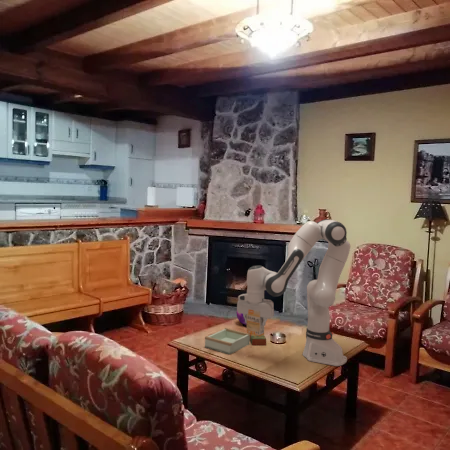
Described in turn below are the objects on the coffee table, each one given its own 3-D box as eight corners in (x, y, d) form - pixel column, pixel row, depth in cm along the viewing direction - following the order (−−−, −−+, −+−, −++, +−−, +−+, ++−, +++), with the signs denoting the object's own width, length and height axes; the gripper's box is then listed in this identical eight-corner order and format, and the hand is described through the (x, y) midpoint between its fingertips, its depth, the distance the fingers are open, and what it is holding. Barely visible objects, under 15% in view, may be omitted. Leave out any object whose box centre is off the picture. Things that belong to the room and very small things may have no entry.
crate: (249, 344, 245) (250, 334, 245) (229, 354, 228) (230, 343, 228) (225, 337, 254) (225, 327, 254) (204, 347, 237) (204, 336, 237)
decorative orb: (251, 330, 270) (252, 305, 269) (231, 324, 279) (232, 301, 278) (264, 324, 282) (265, 301, 281) (244, 319, 291) (245, 297, 290)
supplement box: (246, 333, 228) (246, 308, 227) (251, 331, 232) (251, 306, 231) (259, 336, 223) (259, 311, 222) (264, 334, 227) (264, 309, 226)
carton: (261, 336, 260) (261, 329, 260) (266, 346, 244) (266, 338, 244) (247, 336, 259) (247, 329, 259) (251, 346, 243) (252, 338, 243)
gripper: (276, 299, 222) (276, 325, 223) (241, 293, 234) (241, 319, 235) (270, 301, 217) (270, 329, 218) (235, 295, 228) (235, 322, 230)
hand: (255, 323), depth 227 cm, fingers closed on supplement box, 8 cm apart
